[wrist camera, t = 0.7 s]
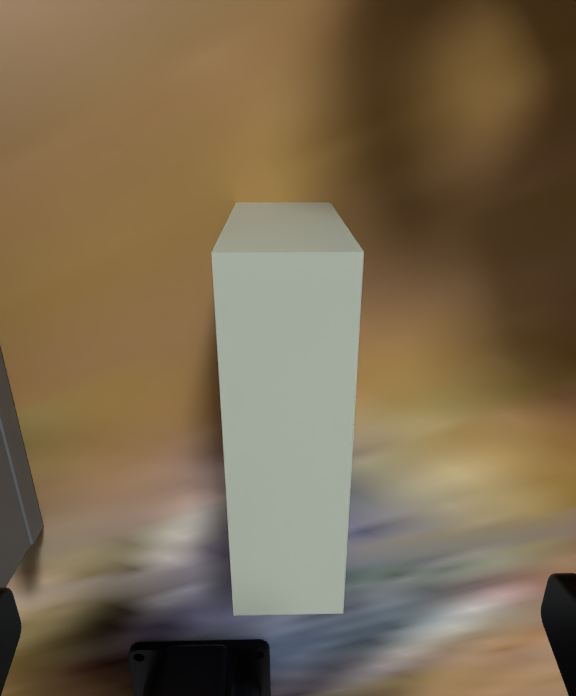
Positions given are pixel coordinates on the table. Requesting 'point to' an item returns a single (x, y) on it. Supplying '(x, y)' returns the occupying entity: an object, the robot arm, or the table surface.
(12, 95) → the table surface
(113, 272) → the table surface
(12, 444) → the dish rack
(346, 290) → the pale grey rectangular block
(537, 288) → the table surface
